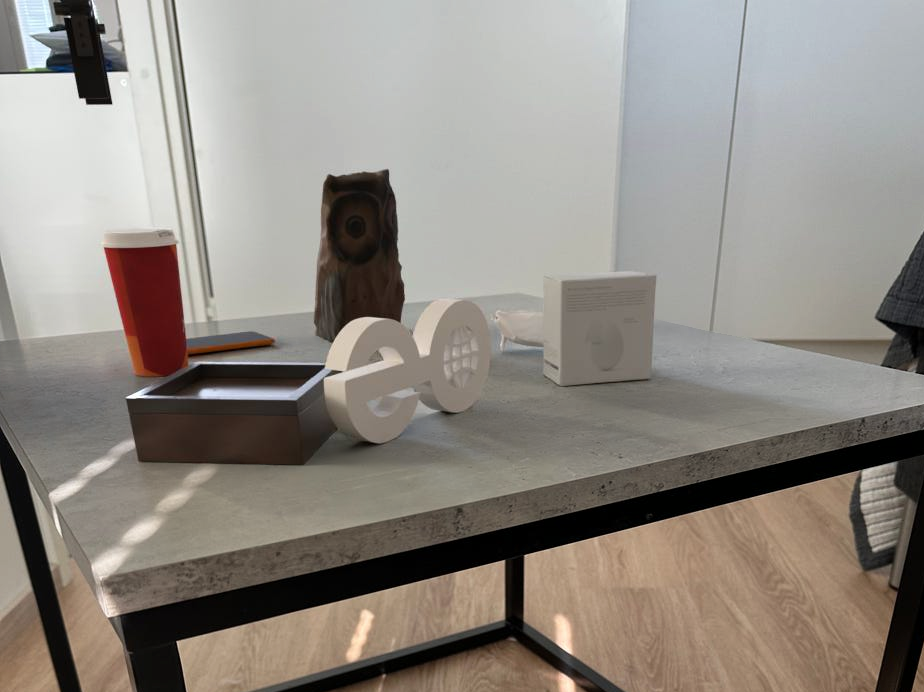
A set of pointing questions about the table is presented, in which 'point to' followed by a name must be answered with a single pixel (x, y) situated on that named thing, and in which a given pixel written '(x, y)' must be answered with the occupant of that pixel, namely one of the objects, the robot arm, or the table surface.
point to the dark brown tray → (233, 414)
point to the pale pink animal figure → (520, 327)
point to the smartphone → (227, 342)
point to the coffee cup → (148, 297)
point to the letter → (406, 368)
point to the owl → (357, 253)
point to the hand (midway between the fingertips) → (97, 102)
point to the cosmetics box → (598, 327)
